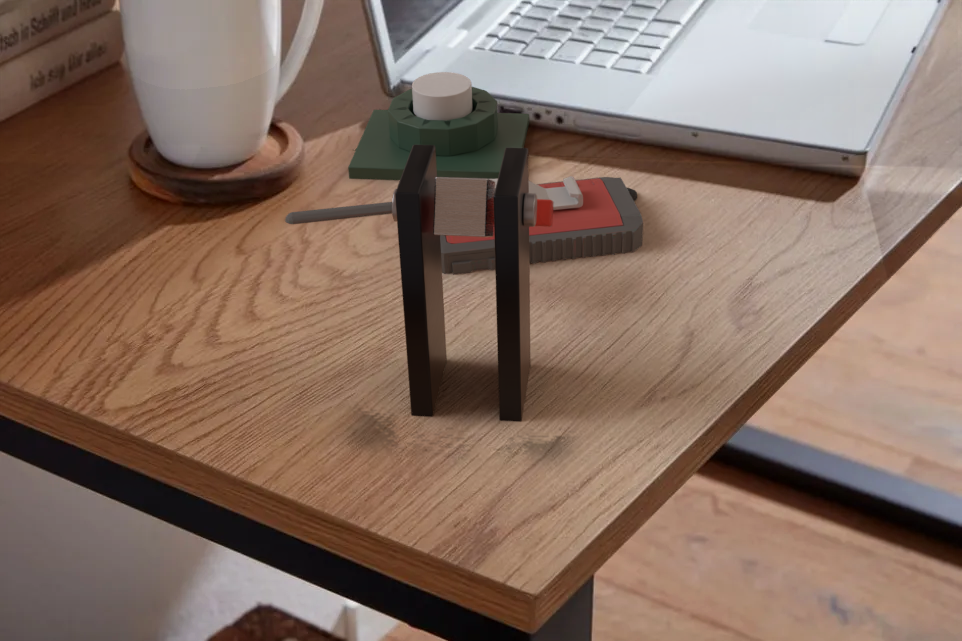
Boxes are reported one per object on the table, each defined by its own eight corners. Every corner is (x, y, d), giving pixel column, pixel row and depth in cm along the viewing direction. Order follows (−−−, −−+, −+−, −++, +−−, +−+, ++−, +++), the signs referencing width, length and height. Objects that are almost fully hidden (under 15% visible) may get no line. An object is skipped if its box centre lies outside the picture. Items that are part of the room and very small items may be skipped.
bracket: (403, 359, 66) (386, 124, 59) (564, 367, 65) (566, 129, 58) (372, 463, 60) (348, 213, 53) (551, 474, 59) (552, 220, 52)
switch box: (530, 143, 86) (529, 85, 83) (516, 205, 79) (516, 144, 77) (376, 138, 87) (372, 81, 85) (350, 199, 80) (345, 139, 78)
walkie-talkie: (624, 196, 79) (286, 232, 77) (627, 128, 77) (278, 164, 75) (666, 272, 72) (294, 315, 70) (670, 201, 70) (285, 242, 67)
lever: (433, 233, 67) (435, 185, 67) (552, 237, 67) (554, 189, 66) (387, 233, 55) (389, 175, 55) (531, 238, 55) (534, 180, 55)
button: (475, 98, 83) (475, 72, 82) (468, 124, 80) (467, 97, 79) (418, 97, 83) (417, 71, 82) (408, 122, 80) (407, 95, 79)
